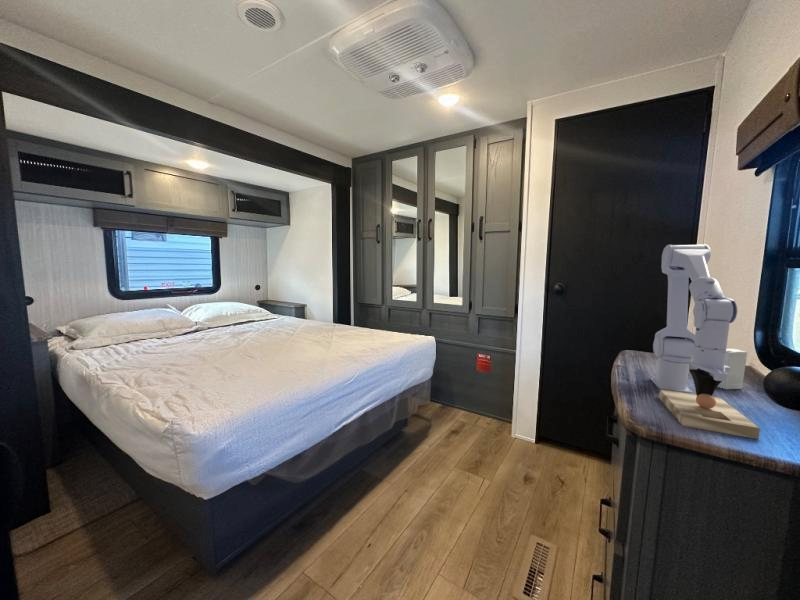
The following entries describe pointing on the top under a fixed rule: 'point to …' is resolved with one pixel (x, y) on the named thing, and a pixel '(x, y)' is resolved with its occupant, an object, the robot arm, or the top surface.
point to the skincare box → (734, 369)
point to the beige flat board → (708, 415)
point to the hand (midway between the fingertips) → (703, 399)
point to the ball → (705, 401)
